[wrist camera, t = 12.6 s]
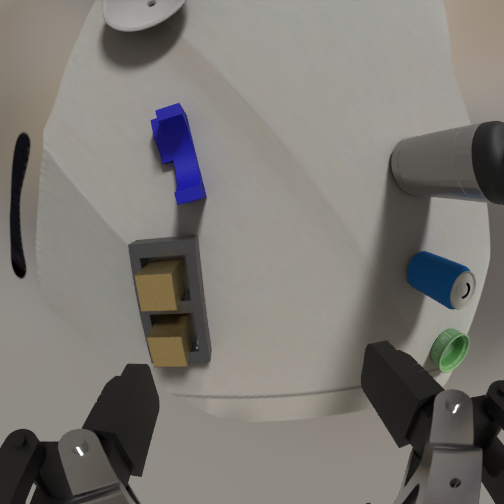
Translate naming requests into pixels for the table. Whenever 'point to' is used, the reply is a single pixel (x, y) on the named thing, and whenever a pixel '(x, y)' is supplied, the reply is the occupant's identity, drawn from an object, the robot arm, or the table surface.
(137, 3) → the dish
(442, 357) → the ramekin
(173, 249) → the grey flat open box
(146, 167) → the table surface
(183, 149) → the cable clip
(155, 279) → the beige cube
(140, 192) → the table surface
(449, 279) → the beverage can
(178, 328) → the wooden toy block
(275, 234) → the table surface
